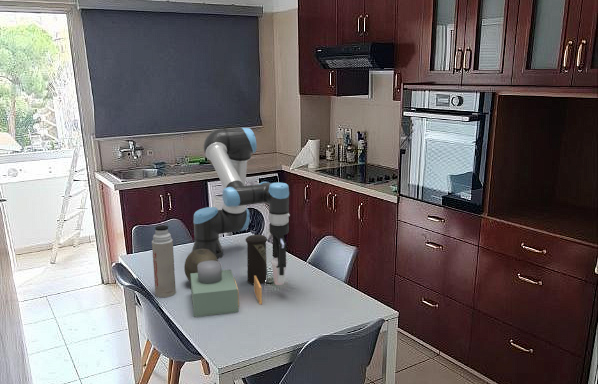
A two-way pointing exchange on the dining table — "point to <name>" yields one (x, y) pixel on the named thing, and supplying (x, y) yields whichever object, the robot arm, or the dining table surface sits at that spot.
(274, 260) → the smoothie
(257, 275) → the container
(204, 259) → the cantaloupe
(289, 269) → the dining table surface
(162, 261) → the thermos bottle
